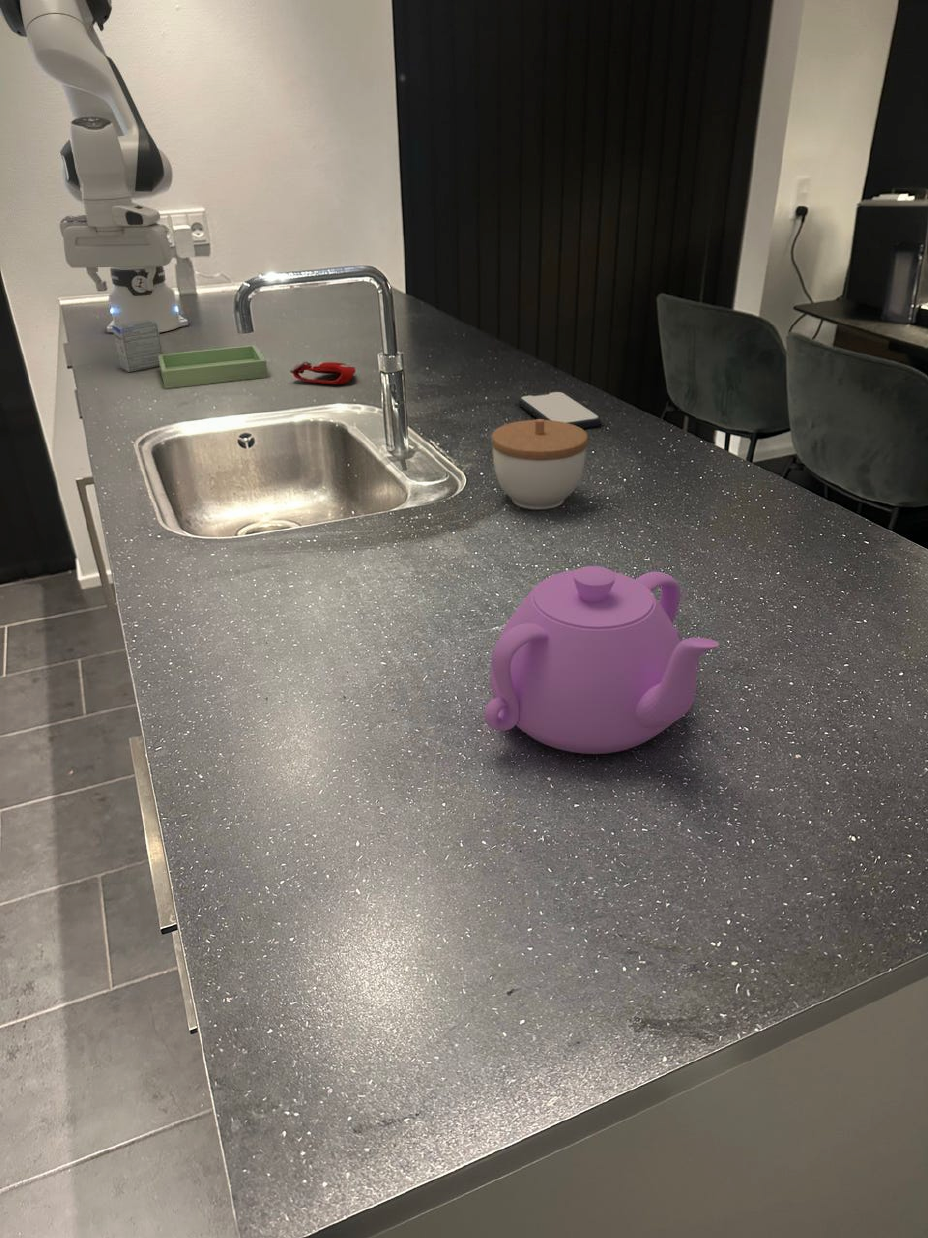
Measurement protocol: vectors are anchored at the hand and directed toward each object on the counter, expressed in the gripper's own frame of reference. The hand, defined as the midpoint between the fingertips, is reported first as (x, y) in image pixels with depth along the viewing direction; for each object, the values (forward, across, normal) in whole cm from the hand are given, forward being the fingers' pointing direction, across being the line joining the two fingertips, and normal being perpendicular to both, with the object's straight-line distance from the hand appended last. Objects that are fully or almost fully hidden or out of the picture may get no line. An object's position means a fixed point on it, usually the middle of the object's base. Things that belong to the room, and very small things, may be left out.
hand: (125, 290), depth 179 cm
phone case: (+16, +85, -32) cm, 92 cm away
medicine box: (+15, 0, 0) cm, 15 cm away
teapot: (+16, +86, -118) cm, 147 cm away
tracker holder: (+16, +40, -10) cm, 44 cm away
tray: (+15, +17, -5) cm, 23 cm away
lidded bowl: (+16, +81, -68) cm, 107 cm away
